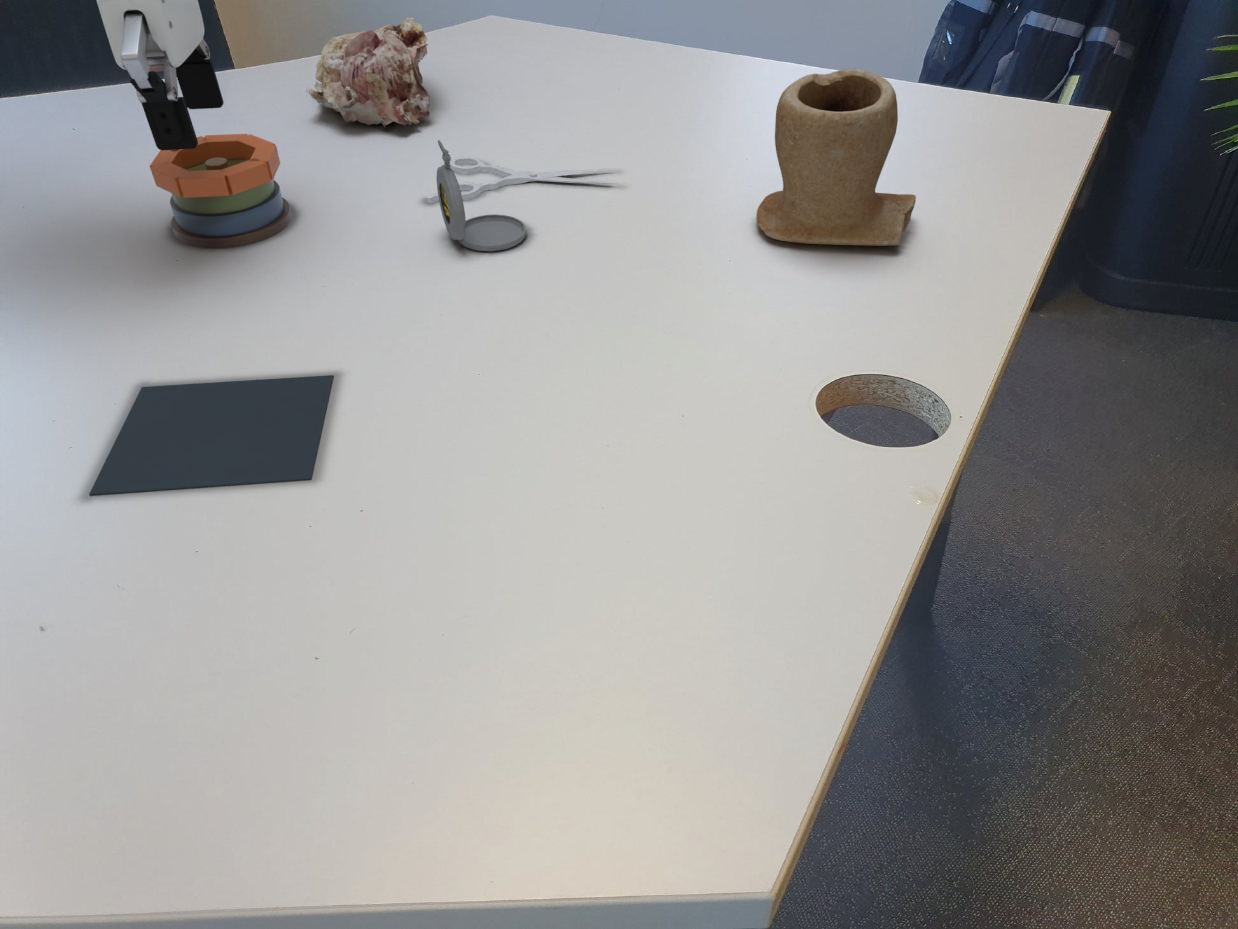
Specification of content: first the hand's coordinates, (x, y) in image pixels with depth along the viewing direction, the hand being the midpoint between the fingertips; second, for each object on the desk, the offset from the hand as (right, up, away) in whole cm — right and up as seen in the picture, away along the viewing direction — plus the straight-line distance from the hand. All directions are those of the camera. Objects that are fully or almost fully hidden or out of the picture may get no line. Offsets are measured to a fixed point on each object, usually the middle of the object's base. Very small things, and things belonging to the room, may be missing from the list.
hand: (193, 126), depth 78 cm
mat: (+9, -27, -15) cm, 32 cm away
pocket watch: (+24, -8, +8) cm, 26 cm away
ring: (-1, -2, +7) cm, 7 cm away
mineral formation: (+6, +16, +36) cm, 40 cm away
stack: (-1, -6, +10) cm, 12 cm away
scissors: (+27, +1, +18) cm, 33 cm away
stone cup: (+58, -8, +9) cm, 59 cm away
